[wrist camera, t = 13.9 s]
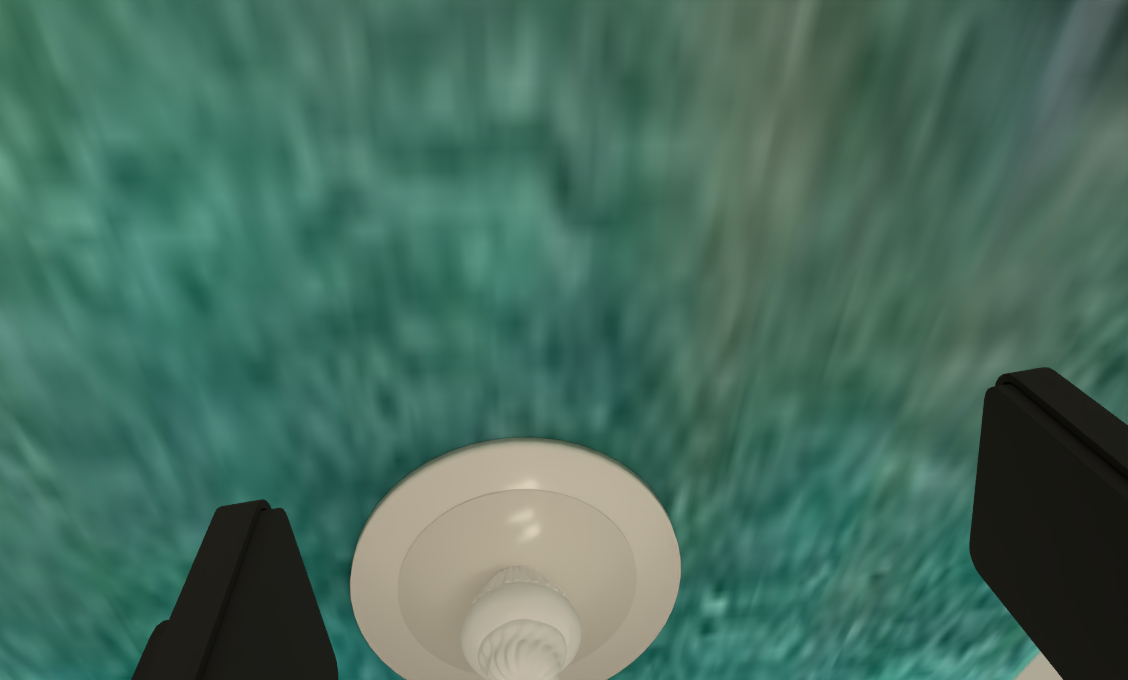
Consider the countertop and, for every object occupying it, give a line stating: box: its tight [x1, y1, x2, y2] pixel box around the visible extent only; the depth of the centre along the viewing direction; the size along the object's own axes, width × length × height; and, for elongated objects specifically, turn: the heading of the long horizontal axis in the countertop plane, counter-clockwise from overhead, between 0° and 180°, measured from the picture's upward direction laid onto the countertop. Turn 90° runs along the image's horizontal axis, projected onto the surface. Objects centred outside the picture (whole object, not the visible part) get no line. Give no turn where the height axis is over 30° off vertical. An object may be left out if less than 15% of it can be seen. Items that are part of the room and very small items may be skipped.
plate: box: [350, 437, 681, 680], centre depth 47 cm, size 18×18×1 cm
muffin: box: [460, 565, 582, 680], centre depth 43 cm, size 6×6×7 cm
